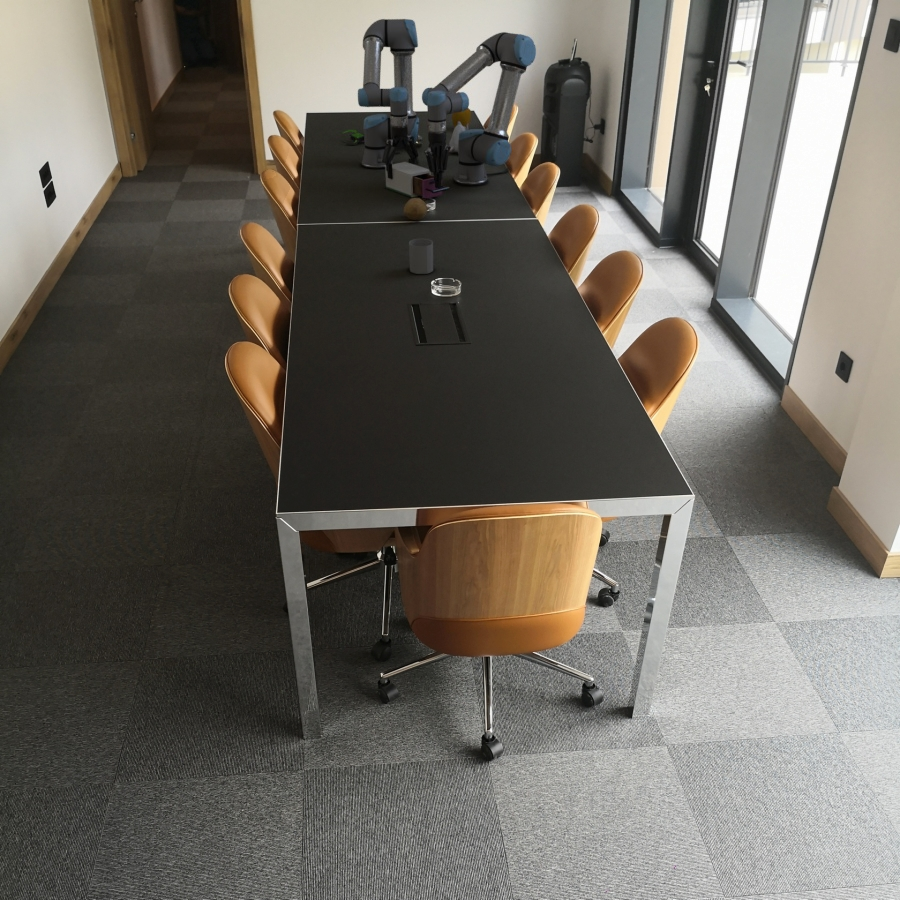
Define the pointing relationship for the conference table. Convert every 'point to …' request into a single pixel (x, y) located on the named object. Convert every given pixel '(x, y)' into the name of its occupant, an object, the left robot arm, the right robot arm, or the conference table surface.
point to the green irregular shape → (354, 137)
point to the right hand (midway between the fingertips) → (438, 187)
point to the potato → (415, 209)
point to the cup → (421, 256)
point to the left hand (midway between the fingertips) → (400, 176)
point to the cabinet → (404, 178)
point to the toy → (456, 137)
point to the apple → (462, 118)
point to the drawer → (426, 186)
